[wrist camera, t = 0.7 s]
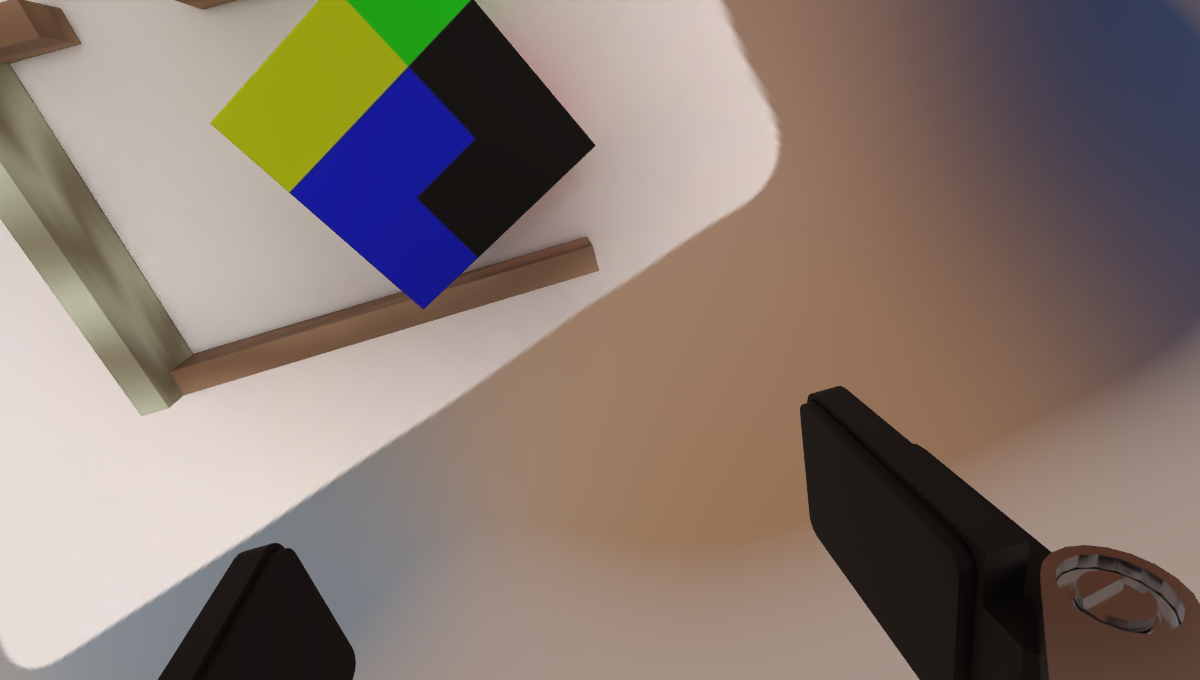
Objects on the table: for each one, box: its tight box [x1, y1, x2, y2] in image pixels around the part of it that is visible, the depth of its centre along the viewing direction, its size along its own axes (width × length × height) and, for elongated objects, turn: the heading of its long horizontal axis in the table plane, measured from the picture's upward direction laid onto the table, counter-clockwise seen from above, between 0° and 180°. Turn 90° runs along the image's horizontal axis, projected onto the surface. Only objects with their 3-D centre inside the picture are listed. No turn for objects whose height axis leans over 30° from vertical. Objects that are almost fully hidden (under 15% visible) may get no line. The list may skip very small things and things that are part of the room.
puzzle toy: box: [210, 0, 596, 310], centre depth 26 cm, size 10×10×10 cm
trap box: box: [0, 0, 599, 416], centre depth 28 cm, size 19×26×4 cm
